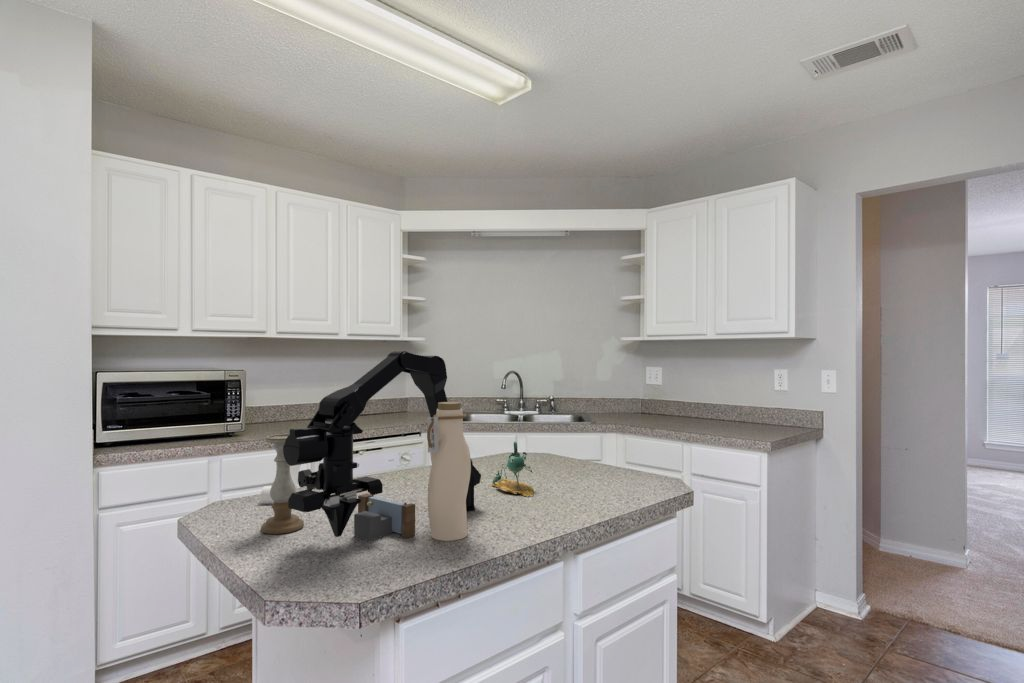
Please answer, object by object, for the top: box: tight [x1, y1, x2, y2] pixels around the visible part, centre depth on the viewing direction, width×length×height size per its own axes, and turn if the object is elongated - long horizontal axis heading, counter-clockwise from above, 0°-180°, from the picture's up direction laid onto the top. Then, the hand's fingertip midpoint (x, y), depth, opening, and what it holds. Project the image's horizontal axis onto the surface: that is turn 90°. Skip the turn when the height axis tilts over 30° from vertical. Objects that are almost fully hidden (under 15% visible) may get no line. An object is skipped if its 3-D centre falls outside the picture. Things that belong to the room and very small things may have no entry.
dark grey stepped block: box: [353, 511, 393, 541], centre depth 118 cm, size 5×6×5 cm
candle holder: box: [260, 433, 305, 535], centre depth 122 cm, size 9×9×20 cm
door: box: [367, 496, 404, 535], centre depth 120 cm, size 11×2×6 cm, turn 53°
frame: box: [357, 493, 416, 539], centre depth 121 cm, size 16×2×7 cm, turn 54°
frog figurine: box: [491, 441, 535, 498], centre depth 156 cm, size 10×18×15 cm, turn 31°
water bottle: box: [426, 401, 472, 542], centre depth 117 cm, size 10×9×28 cm
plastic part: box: [260, 464, 302, 505], centre depth 146 cm, size 8×10×12 cm
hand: (337, 536), depth 111 cm, fingers closed
